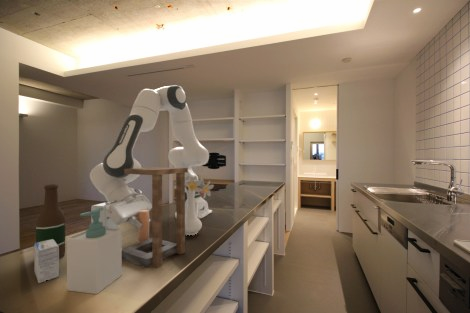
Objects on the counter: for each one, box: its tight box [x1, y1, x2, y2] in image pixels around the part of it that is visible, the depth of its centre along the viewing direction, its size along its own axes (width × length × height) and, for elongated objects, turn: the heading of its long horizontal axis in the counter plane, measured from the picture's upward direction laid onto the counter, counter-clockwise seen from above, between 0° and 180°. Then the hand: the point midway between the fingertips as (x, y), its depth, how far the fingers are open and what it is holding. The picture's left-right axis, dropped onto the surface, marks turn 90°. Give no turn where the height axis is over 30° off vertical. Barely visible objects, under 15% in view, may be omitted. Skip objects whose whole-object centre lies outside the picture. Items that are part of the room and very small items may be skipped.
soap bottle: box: [66, 208, 123, 295], centre depth 56 cm, size 9×9×19 cm
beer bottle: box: [35, 183, 66, 260], centre depth 71 cm, size 8×8×24 cm
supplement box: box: [90, 202, 119, 229], centre depth 94 cm, size 7×7×13 cm
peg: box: [137, 210, 150, 244], centre depth 83 cm, size 4×4×12 cm
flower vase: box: [172, 175, 215, 237], centre depth 93 cm, size 13×18×25 cm
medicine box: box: [33, 239, 60, 284], centre depth 60 cm, size 8×4×9 cm, turn 48°
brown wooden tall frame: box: [122, 166, 188, 269], centre depth 72 cm, size 14×16×29 cm
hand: (145, 224), depth 83 cm, fingers closed on peg, 4 cm apart
